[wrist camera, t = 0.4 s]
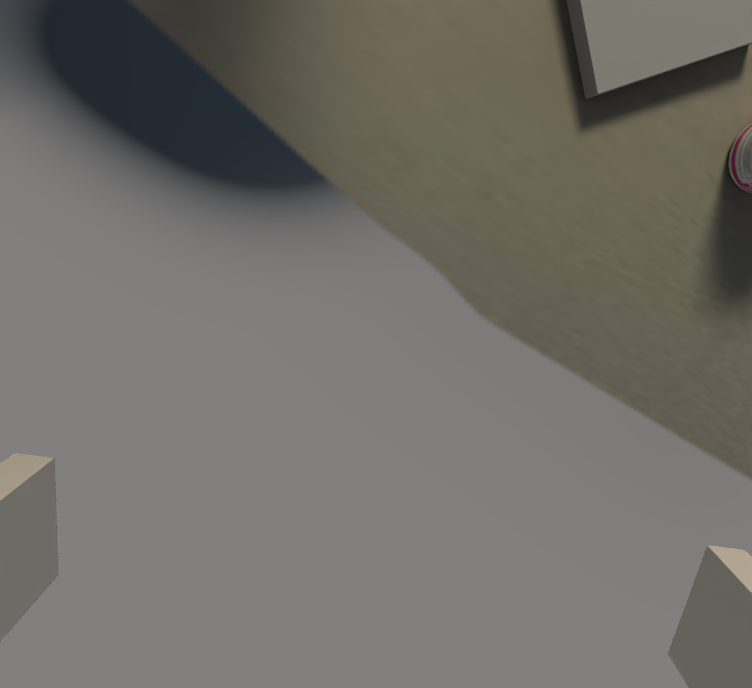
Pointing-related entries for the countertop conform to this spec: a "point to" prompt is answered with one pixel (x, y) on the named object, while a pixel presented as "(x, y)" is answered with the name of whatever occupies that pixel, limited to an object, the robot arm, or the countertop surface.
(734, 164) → the pill bottle
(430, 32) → the countertop surface
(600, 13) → the slate tile
